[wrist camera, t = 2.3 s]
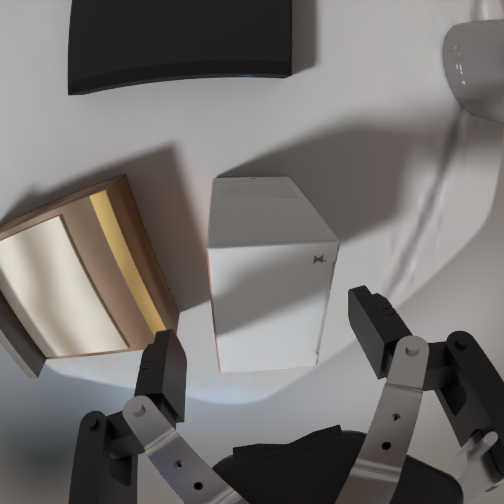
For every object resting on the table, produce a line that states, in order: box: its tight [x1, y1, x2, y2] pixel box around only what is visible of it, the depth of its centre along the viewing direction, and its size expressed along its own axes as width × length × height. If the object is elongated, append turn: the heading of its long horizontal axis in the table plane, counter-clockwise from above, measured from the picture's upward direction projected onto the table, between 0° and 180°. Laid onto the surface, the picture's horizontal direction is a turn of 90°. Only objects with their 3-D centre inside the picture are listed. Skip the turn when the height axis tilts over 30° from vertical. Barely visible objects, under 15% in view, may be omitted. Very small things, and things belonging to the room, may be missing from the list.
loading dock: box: [0, 174, 180, 378], centre depth 20 cm, size 16×13×6 cm
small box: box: [206, 177, 340, 372], centre depth 18 cm, size 8×6×10 cm
